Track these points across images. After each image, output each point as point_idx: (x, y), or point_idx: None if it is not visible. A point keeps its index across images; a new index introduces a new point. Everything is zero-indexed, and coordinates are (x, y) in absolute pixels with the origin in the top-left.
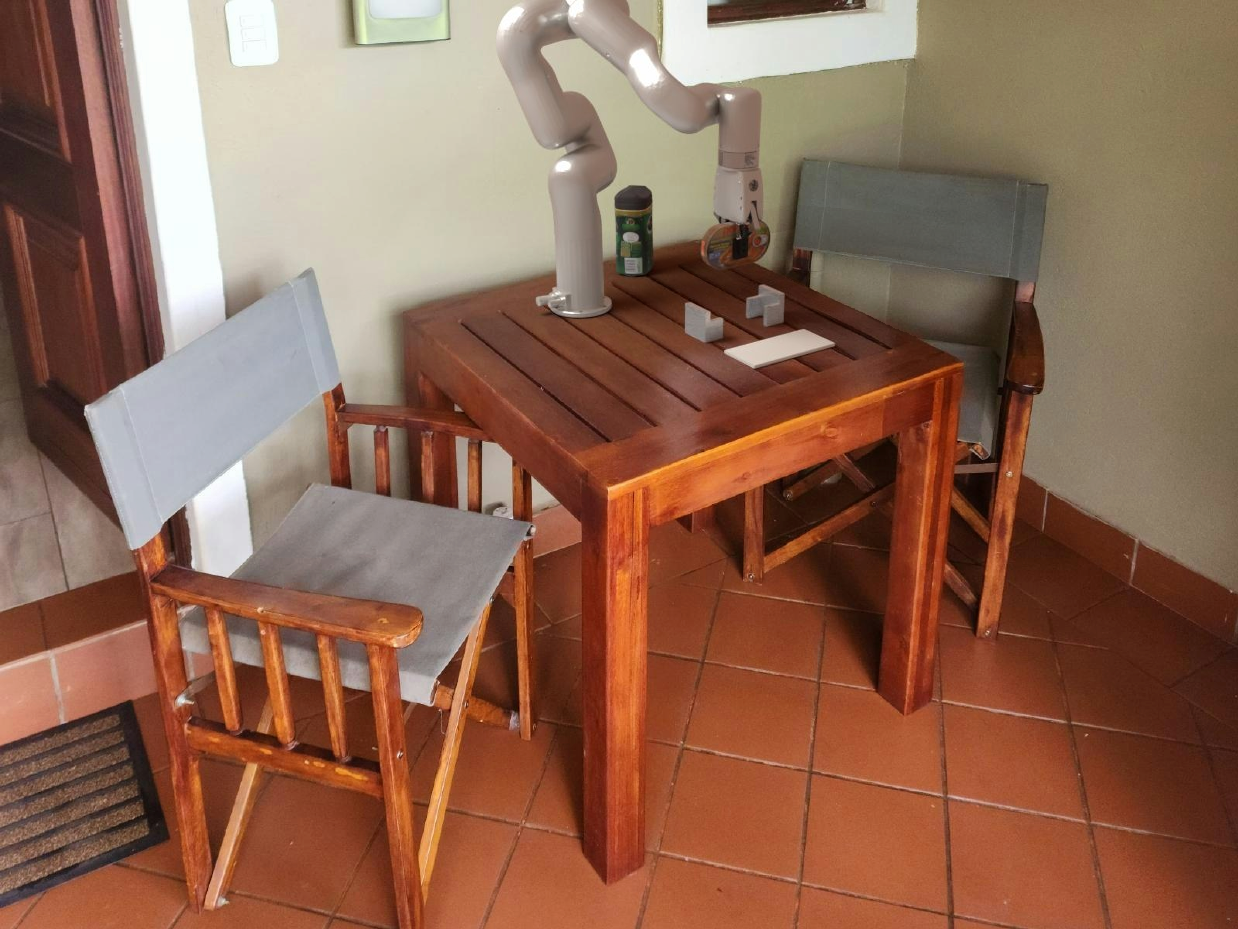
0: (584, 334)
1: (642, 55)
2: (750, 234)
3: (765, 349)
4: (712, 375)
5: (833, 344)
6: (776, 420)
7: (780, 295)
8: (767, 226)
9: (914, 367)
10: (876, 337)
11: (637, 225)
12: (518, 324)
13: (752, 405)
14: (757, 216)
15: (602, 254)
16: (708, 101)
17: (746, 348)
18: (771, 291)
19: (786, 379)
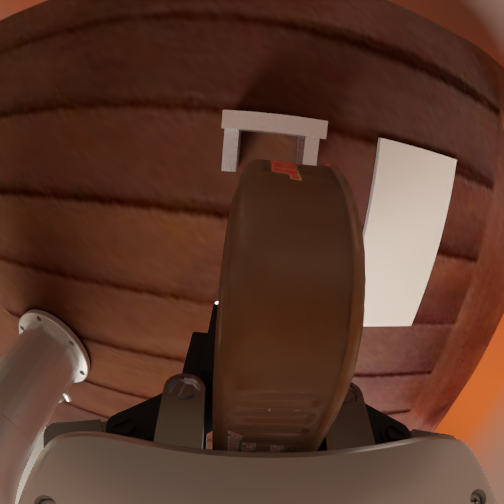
0: (144, 398)
1: None
2: (376, 411)
3: (392, 273)
4: (375, 371)
5: (455, 162)
6: (473, 368)
7: (325, 136)
8: (358, 221)
9: None
10: (466, 77)
11: None
12: (87, 410)
13: (447, 372)
14: (414, 454)
15: (19, 387)
16: None
17: (365, 295)
18: (286, 133)
19: (455, 309)
